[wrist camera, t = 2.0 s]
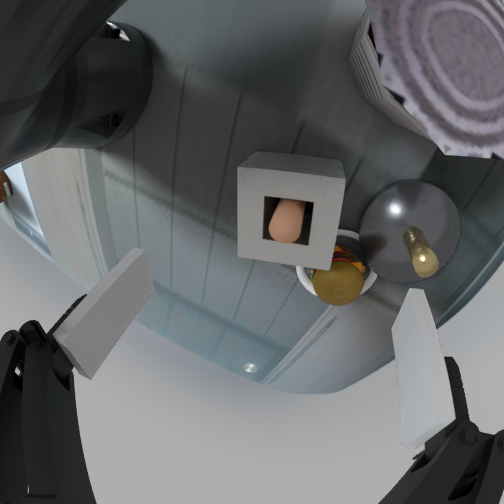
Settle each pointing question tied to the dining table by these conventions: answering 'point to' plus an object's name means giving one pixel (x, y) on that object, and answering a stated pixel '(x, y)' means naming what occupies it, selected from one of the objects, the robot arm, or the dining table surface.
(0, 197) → the food container
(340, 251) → the hamburger
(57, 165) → the dining table surface
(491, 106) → the can
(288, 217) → the sausage
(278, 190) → the collar
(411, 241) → the hub
